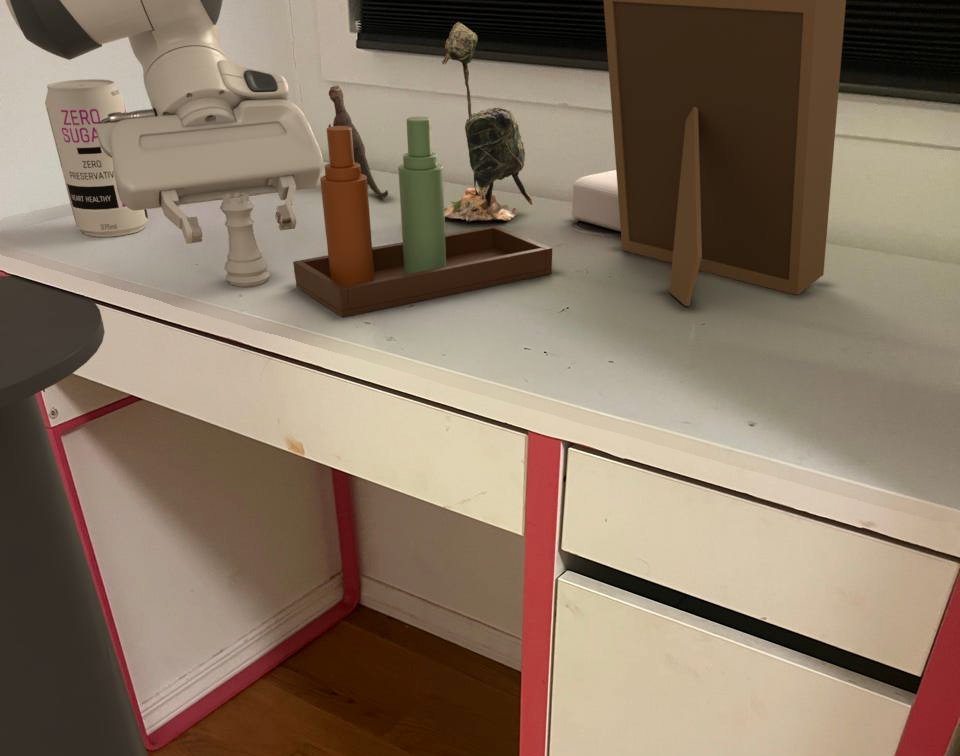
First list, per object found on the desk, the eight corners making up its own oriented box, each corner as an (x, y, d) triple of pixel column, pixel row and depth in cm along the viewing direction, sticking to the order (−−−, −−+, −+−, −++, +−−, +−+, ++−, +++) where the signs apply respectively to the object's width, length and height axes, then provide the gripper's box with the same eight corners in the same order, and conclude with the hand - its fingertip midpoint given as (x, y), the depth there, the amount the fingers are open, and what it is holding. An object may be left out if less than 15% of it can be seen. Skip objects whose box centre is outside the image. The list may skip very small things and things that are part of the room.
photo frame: (647, 242, 106) (671, -33, 91) (821, 285, 93) (883, -26, 78) (555, 270, 98) (565, -25, 83) (732, 322, 85) (782, -17, 70)
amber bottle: (343, 299, 90) (327, 134, 82) (324, 287, 93) (307, 126, 84) (382, 291, 92) (371, 128, 83) (363, 280, 95) (350, 121, 86)
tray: (342, 317, 88) (339, 289, 86) (296, 287, 95) (292, 261, 93) (551, 273, 97) (552, 248, 96) (495, 249, 105) (495, 225, 103)
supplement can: (134, 216, 118) (103, 76, 109) (160, 230, 112) (131, 84, 103) (68, 227, 114) (30, 83, 105) (92, 242, 109) (55, 92, 99)
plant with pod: (505, 233, 110) (506, 27, 98) (428, 218, 115) (420, 22, 103) (544, 217, 115) (550, 20, 103) (469, 204, 120) (466, 16, 108)
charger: (666, 248, 104) (571, 222, 113) (721, 233, 109) (625, 208, 118) (671, 202, 101) (573, 178, 110) (727, 188, 106) (628, 166, 115)
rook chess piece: (240, 290, 94) (226, 203, 89) (217, 280, 97) (202, 195, 92) (279, 280, 96) (267, 195, 92) (255, 271, 99) (243, 188, 94)
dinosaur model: (337, 81, 125) (401, 102, 116) (346, 177, 133) (407, 204, 124) (310, 86, 123) (373, 108, 114) (321, 183, 131) (381, 210, 122)
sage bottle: (417, 284, 93) (409, 124, 85) (397, 273, 96) (387, 117, 88) (454, 277, 95) (449, 119, 87) (433, 266, 98) (427, 113, 90)
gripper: (88, 92, 88) (133, 228, 87) (300, 74, 95) (344, 200, 94) (92, 138, 94) (135, 266, 93) (292, 118, 101) (333, 237, 100)
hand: (242, 233), depth 94 cm, fingers open, 8 cm apart
